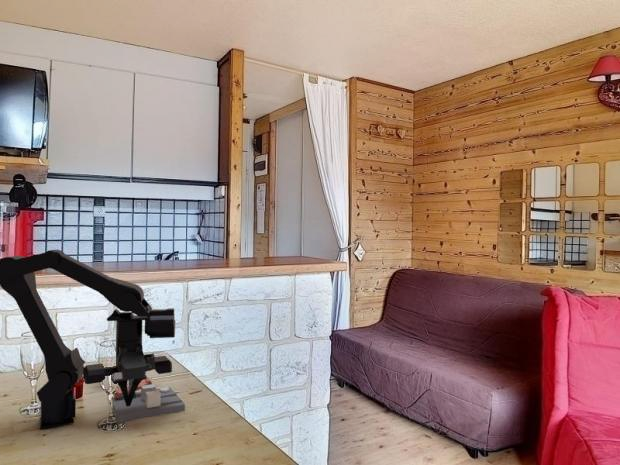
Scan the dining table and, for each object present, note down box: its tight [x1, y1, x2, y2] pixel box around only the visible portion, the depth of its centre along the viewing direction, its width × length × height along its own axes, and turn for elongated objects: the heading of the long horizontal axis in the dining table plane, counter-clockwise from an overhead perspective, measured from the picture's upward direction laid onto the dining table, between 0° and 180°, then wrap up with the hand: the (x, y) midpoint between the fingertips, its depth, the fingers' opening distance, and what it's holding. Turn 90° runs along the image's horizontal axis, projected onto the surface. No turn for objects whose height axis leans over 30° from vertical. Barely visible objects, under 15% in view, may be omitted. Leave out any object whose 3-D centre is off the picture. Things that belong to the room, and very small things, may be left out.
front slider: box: [145, 390, 161, 408], centre depth 110 cm, size 3×2×3 cm
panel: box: [112, 386, 186, 423], centre depth 114 cm, size 15×14×3 cm
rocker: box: [113, 377, 153, 398], centre depth 116 cm, size 9×3×1 cm, turn 121°
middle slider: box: [140, 383, 157, 401], centre depth 114 cm, size 3×2×3 cm
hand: (128, 405), depth 107 cm, fingers closed
